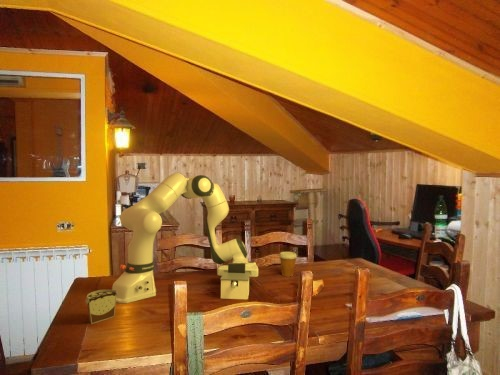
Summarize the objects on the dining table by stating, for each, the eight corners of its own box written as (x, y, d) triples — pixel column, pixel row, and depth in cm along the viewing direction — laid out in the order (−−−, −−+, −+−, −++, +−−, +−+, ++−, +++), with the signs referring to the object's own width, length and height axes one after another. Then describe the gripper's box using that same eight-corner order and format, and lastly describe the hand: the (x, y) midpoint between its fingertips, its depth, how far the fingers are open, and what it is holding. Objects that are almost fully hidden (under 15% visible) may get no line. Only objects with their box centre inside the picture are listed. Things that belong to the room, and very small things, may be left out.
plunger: (228, 285, 185) (228, 262, 184) (245, 286, 184) (245, 263, 184) (224, 297, 168) (224, 272, 168) (242, 297, 168) (242, 272, 167)
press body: (223, 291, 183) (223, 272, 182) (249, 292, 182) (249, 273, 182) (220, 298, 172) (220, 278, 172) (248, 299, 172) (248, 279, 171)
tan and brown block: (109, 311, 155) (109, 287, 154) (117, 315, 151) (117, 290, 150) (79, 320, 145) (78, 294, 145) (87, 325, 141) (87, 298, 141)
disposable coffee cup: (297, 277, 207) (297, 255, 206) (279, 277, 207) (279, 255, 207) (295, 273, 216) (296, 251, 216) (278, 272, 217) (278, 251, 216)
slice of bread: (309, 297, 177) (309, 289, 177) (286, 286, 192) (287, 279, 192) (339, 292, 185) (339, 284, 185) (315, 282, 201) (316, 274, 201)
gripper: (218, 261, 199) (215, 268, 185) (258, 262, 198) (258, 269, 184) (218, 273, 199) (214, 281, 185) (258, 274, 198) (257, 282, 184)
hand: (236, 275), depth 184 cm, fingers closed, pressing on plunger
